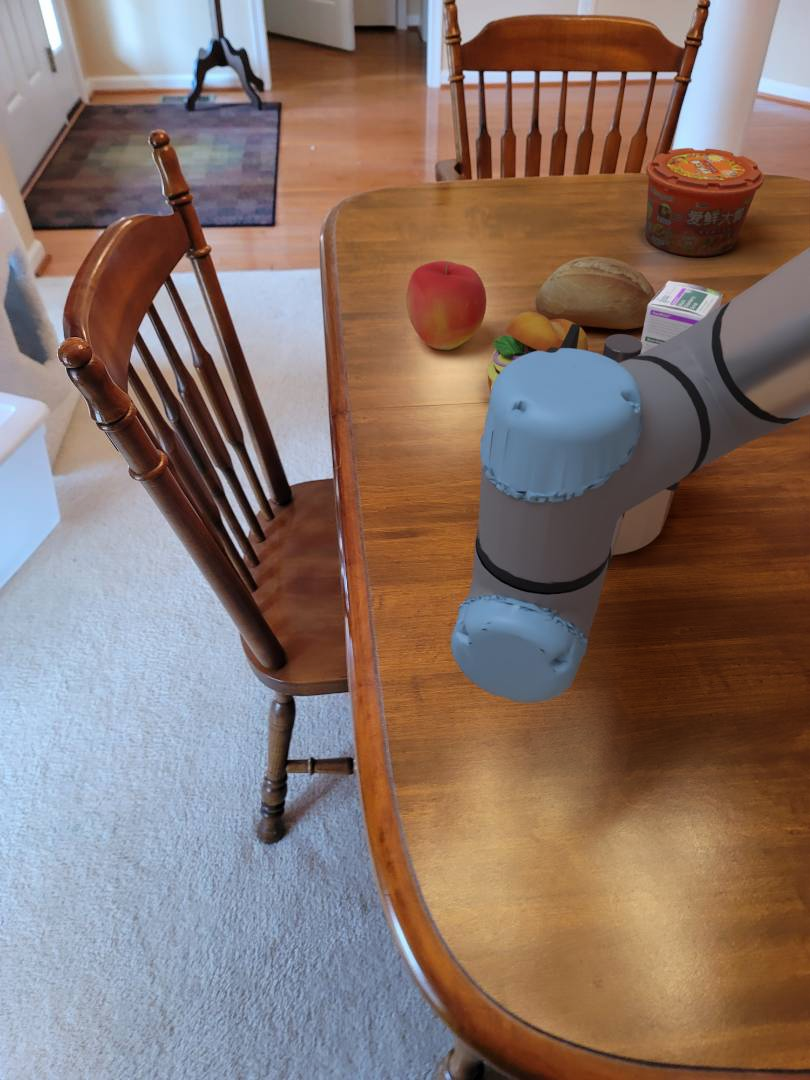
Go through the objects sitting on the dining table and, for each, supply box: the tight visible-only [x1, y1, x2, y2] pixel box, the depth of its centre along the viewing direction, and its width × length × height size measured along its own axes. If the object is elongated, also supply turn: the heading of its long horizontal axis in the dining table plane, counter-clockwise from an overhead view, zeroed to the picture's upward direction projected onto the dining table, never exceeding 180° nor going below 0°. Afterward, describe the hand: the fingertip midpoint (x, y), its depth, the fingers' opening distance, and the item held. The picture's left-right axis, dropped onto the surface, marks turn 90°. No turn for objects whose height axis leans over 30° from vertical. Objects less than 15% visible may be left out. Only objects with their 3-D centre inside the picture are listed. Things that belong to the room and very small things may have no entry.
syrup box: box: [640, 280, 724, 354], centre depth 85 cm, size 6×6×14 cm
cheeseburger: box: [486, 310, 589, 393], centre depth 92 cm, size 10×11×10 cm
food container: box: [644, 147, 765, 258], centre depth 120 cm, size 16×16×11 cm
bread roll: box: [535, 256, 657, 330], centre depth 103 cm, size 10×15×8 cm, turn 80°
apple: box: [405, 260, 487, 351], centre depth 98 cm, size 10×10×10 cm
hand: (627, 347), depth 73 cm, fingers open, 9 cm apart
